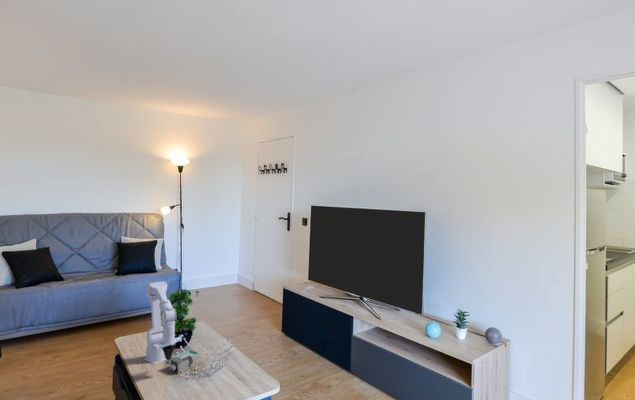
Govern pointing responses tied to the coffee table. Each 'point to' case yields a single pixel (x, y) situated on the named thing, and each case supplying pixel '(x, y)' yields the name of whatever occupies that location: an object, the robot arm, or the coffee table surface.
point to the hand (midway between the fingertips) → (168, 359)
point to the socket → (179, 364)
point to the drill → (175, 364)
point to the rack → (188, 354)
